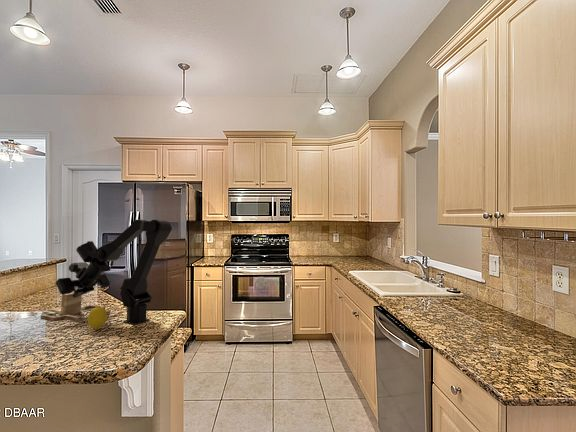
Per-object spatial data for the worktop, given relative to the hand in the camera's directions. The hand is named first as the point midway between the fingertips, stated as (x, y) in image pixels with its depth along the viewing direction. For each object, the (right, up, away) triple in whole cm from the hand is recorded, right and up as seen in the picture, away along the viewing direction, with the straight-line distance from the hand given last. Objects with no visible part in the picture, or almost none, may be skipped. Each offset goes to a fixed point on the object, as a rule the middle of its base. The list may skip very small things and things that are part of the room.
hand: (74, 296), depth 123 cm
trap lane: (+2, -7, -1) cm, 7 cm away
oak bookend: (-5, -7, +2) cm, 9 cm away
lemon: (+23, -6, -21) cm, 32 cm away
